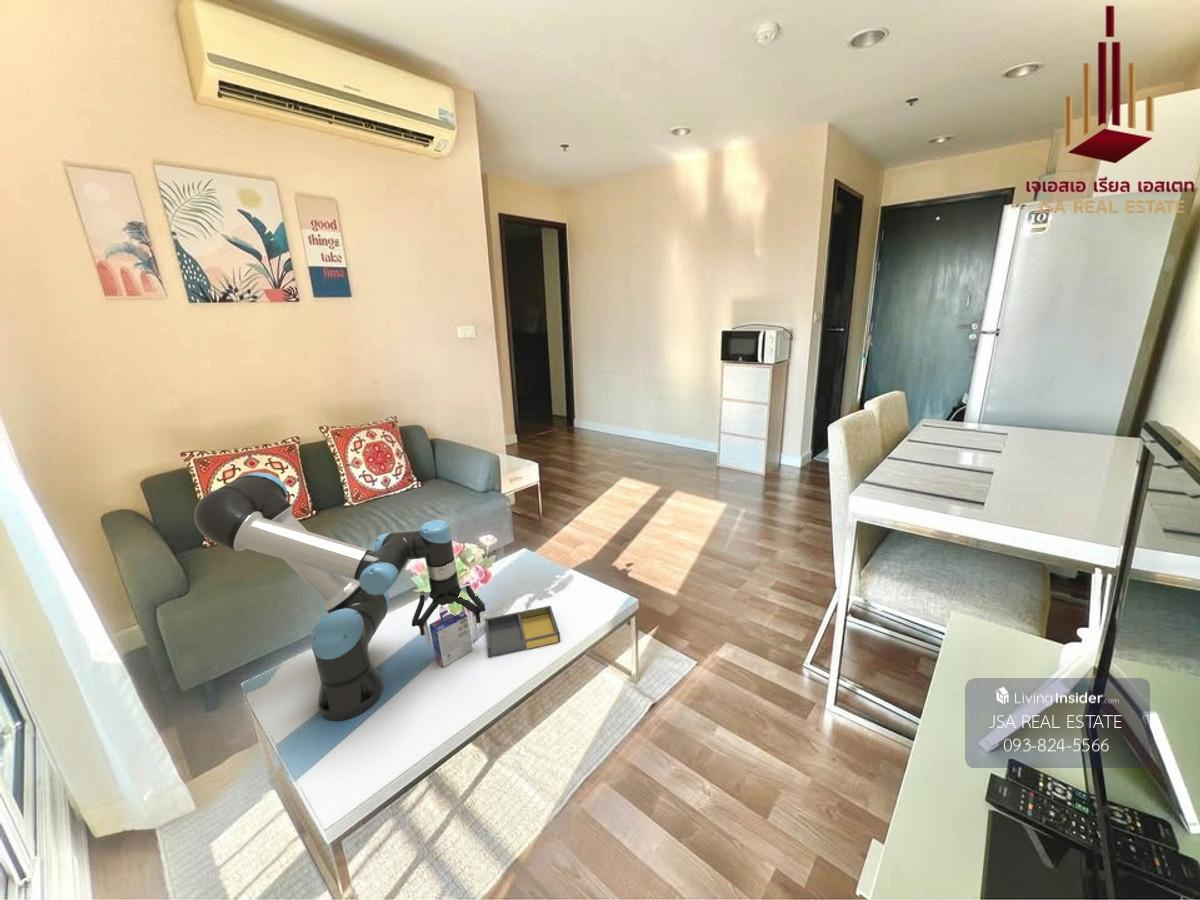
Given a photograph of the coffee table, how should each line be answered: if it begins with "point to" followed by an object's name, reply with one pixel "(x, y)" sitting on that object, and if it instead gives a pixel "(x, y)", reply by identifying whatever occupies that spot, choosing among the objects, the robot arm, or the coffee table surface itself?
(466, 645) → the ink cartridge box
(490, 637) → the tray
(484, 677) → the coffee table surface
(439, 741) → the coffee table surface
